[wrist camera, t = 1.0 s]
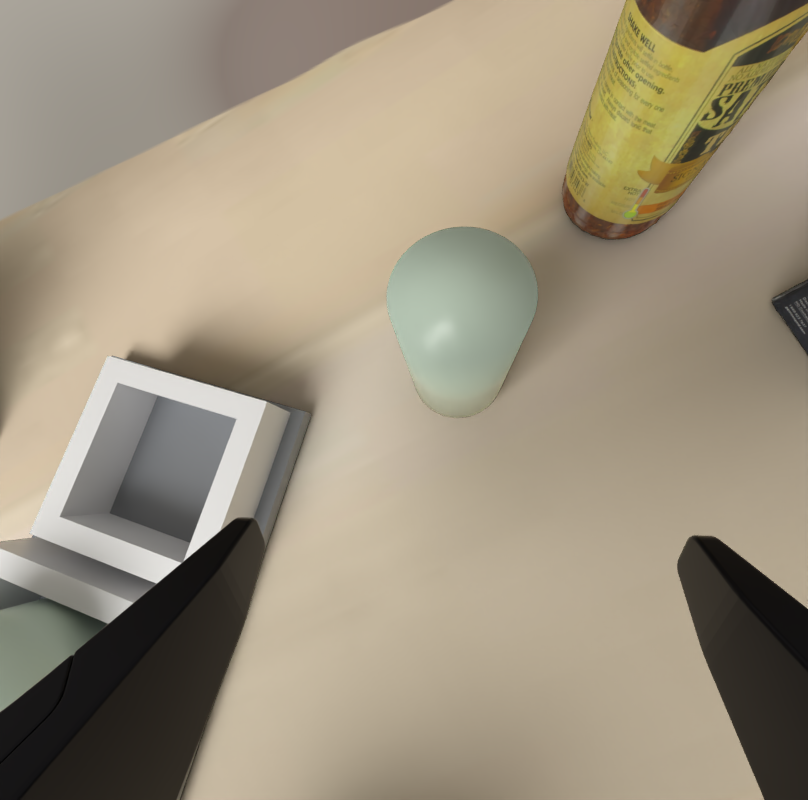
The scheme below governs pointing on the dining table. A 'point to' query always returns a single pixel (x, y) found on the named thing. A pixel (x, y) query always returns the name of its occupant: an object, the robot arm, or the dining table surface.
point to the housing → (136, 507)
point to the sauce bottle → (670, 103)
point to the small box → (795, 311)
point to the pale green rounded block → (461, 315)
